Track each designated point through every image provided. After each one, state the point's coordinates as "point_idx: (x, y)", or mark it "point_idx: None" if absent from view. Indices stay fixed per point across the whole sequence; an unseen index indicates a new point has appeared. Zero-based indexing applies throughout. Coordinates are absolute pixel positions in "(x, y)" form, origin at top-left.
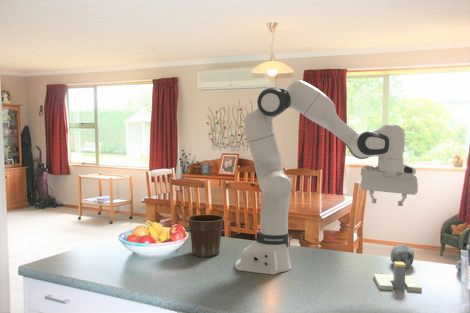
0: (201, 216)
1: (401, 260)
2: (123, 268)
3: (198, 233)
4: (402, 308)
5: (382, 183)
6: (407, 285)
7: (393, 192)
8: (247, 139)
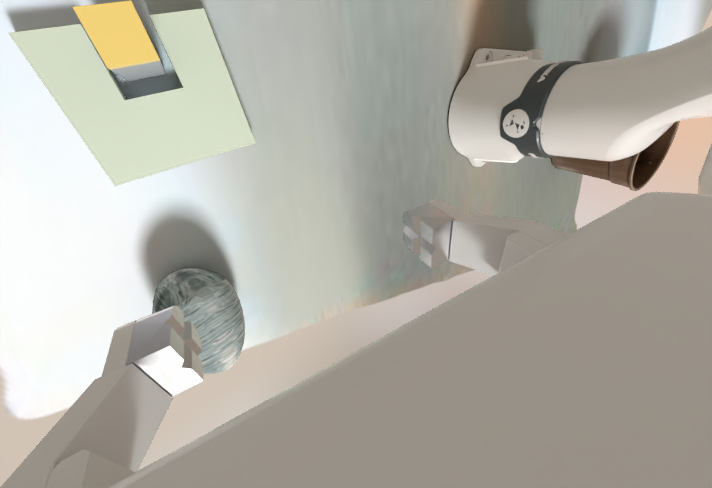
0: (647, 175)
1: (190, 273)
2: None
3: None
4: None
5: (638, 412)
6: (90, 44)
7: (286, 390)
8: None
